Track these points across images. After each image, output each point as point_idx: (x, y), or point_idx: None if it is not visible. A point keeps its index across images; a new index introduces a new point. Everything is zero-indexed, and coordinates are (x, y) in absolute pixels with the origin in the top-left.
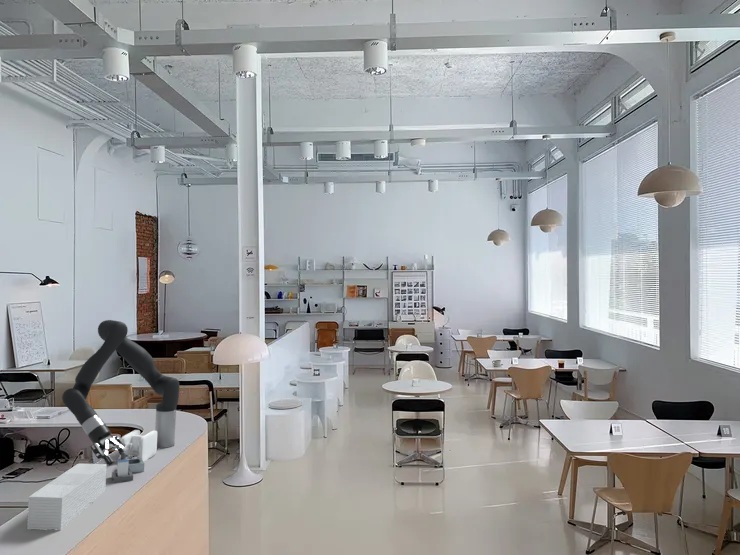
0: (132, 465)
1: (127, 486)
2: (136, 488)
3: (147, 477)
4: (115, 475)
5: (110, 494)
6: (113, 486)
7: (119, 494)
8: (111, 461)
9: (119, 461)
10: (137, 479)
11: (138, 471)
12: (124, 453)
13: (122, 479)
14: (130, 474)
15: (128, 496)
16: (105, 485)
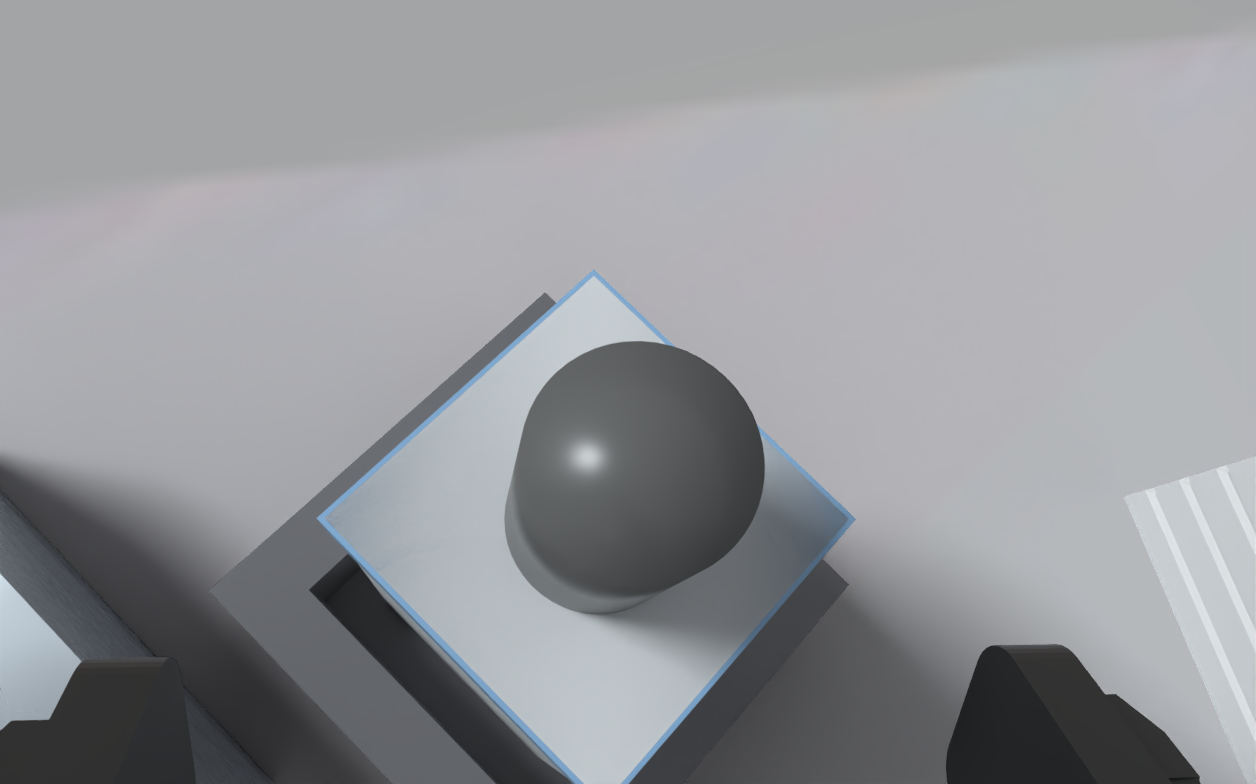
0: (48, 614)
1: (767, 298)
2: (777, 112)
3: (220, 219)
4: None
5: (1154, 344)
6: (874, 537)
7: (1085, 215)
8: (1085, 688)
9: (824, 506)
10: (388, 337)
11: (16, 522)
12: (690, 360)
13: None
14: None
15: (1073, 56)
16: (1217, 468)
